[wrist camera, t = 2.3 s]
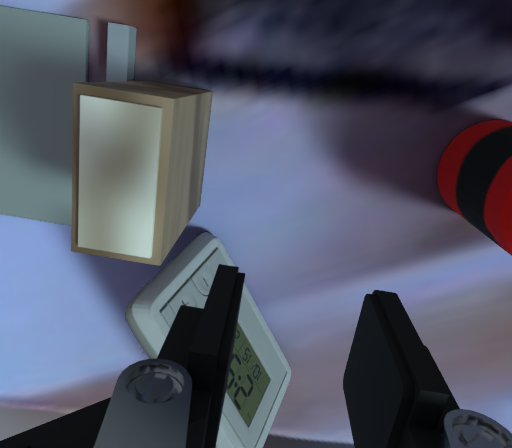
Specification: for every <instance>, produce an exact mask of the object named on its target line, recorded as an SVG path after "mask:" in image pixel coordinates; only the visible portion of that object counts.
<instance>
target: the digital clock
mask: <svg viewBox="0 0 512 448" xmlns="http://www.w3.org/2000/svg"><path fill="white" fill-rule="evenodd" d="M219 264H222V265H228V266H234V267H235V265H234V263H233V262H232V260H231V258H230V256H229V254H228V253H227V251H226V249H225V248H224V246H223V244H222V243H221V241H220V240H219V239H218V238H216V237H215V236H213V235H212V234H210V233H208V232H204V233H202V234H200V235H198V236H197V237H196V238H194V239H193V240H192V241H191V242H190V243H189V244H188V245H187V246H186V247H185V248H184V249H183V250H182V251H181V252H180V253H179V254H178V255H177V256H176V257H175V258H174V259H172V260H171V261H170V262H169V263H168V264H167V265H166V266H165V267H164V268H163V269H162V270H161V271H160V272H159V273H158V274H157V275H156V276H155V277H154V278H153V279H152V280H151V281H150V282H149V283H148V284H147V285H146V286H145V287H144V288H143V289H142V290H141V291H140V292H139V293H138V294H137V295H136V296H135V297H134V298H133V299H132V300H131V301H130V303H129V304H128V306H127V308H126V312H125V317H126V321H127V323H128V325H129V327H130V328H131V330H132V332H133V333H134V335H135V336H136V338H137V340H138V341H139V343H140V344H141V346H142V348H143V349H144V351H145V352H146V354H147V355H148V357H149V358H150V359H157V357H158V354H159V352H160V350H161V348H162V346H163V343H164V341H165V339H166V337H167V335H168V332H169V330H170V328H171V326H172V323H173V321H174V319H175V317H176V315H177V312H178V310H179V308H180V306H181V305H185V306H191V307H197V308H203V309H204V306H205V303H206V300H207V297H208V294H209V291H210V288H211V285H212V283H213V280H214V277H215V274H216V271H217V268H218V265H219ZM290 377H291V369H290V367H289V364H288V362H287V360H286V359H285V357H284V355H283V353H282V351H281V349H280V347H279V345H278V344H277V342H276V340H275V338H274V336H273V335H272V333H271V331H270V329H269V327H268V325H267V324H266V322H265V320H264V318H263V316H262V314H261V313H260V311H259V309H258V307H257V305H256V304H255V302H254V300H253V298H252V296H251V294H250V293H249V291H248V289H247V287H246V285H245V283H244V285H243V291H242V298H241V304H240V310H239V316H238V323H237V329H236V335H235V342H234V348H233V354H232V360H231V366H230V372H229V377H228V383H227V388H226V394H225V399H224V404H223V410H222V415H221V421H220V426H219V432H218V437H217V442H216V448H263V445H264V443H265V440H266V438H267V435H268V433H269V430H270V428H271V426H272V423H273V421H274V418H275V416H276V413H277V411H278V408H279V406H280V403H281V401H282V398H283V396H284V394H285V391H286V389H287V386H288V384H289V381H290Z"/></svg>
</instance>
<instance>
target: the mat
mask: <svg viewBox="0 0 512 448" xmlns="http://www.w3.org/2000/svg"><path fill="white" fill-rule="evenodd" d="M88 42H89V20H85V19H79V18H72V17H66V16H60V15H54V14H47V13H41V12H35V11H29V10H23V9H16V8H10V7H4V6H0V214H2V215H8V216H14V217H20V218H26V219H32V220H39V221H45V222H51V223H57V224H63V225H69V226H72V133H73V83H78V82H88Z"/></svg>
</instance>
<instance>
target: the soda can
mask: <svg viewBox="0 0 512 448" xmlns="http://www.w3.org/2000/svg"><path fill="white" fill-rule="evenodd" d="M437 180H438V187H439V190H440V194H441V195H442V197H443V199H444V201H445V202H446V203H447V204H448V205H449V206H450V208H452V209H453V210H454V211H455V212H457V213H458V214H459V215H461V216H462V217H463V218H464V219H466V220H467V221H468V222H469V223H471V224H472V225H473V226H475V227H476V228H477V229H478V230H480V231H481V232H482V233H484V234H485V235H486V236H487V237H489V238H490V239H491V240H492V241H494V242H495V243H496V244H498V245H499V246H500V247H501V248H503V249H504V250H505V251H506V252H508V253H509V254H510V255H512V122H511V121H506V120H490V121H484V122H480V123H478V124H475V125H473V126H471V127H469V128H467V129H466V130H464V131H462V132H461V133H460V134H459V135H458V136H456V137H455V138H454V139H453V140H452V141H451V143H450V144H449V145H448V146H447V148H446V150H445V151H444V153H443V155H442V157H441V160H440V163H439V166H438V173H437Z"/></svg>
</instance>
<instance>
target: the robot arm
mask: <svg viewBox="0 0 512 448" xmlns="http://www.w3.org/2000/svg"><path fill="white" fill-rule="evenodd" d="M244 279H245V273H239V272H238V267H234V266H228V265H222V264H219V265H218V268H217V271H216V274H215V277H214V280H213V283H212V285H211V288H210V291H209V294H208V297H207V300H206V303H205V306H204V309H203V308H197V307H191V306H185V305H181V306H180V308H179V310H178V312H177V315H176V317H175V319H174V321H173V323H172V326H171V328H170V330H169V332H168V335H167V337H166V339H165V341H164V343H163V346H162V348H161V350H160V352H159V354H158V357H157V359H147V360H142V361H138V362H136V363H134V364H132V365H130V366H128V367H127V368H126V369H125V370H124V371H122V373H121V375H120V376H119V378H118V380H117V383H116V385H115V388H114V391H113V394H112V397H110V398H108V399H105V400H103V401H100V402H98V403H95V404H93V405H90V406H88V407H85V408H83V409H80V410H77V411H75V412H72V413H70V414H67V415H65V416H62V417H60V418H57V419H55V420H52V421H50V422H47V423H45V424H42V425H40V426H37V427H35V428H32V429H30V430H27V431H25V432H22V433H20V434H17V435H14V436H12V437H9V438H7V439H4V440H2V441H0V448H216V442H217V437H218V432H219V426H220V421H221V415H222V410H223V404H224V399H225V394H226V388H227V383H228V377H229V372H230V366H231V360H232V354H233V348H234V342H235V335H236V329H237V323H238V316H239V310H240V304H241V298H242V291H243V285H244ZM343 389H344V394H345V399H346V404H347V410H348V415H349V420H350V425H351V430H352V436H353V441H354V446H355V448H512V434H511V433H510V432H509V431H508V430H507V429H506V428H505V427H503V426H502V425H501V424H499V423H498V422H496V421H495V420H493V419H491V418H489V417H487V416H485V415H483V414H480V413H478V412H475V411H471V410H464V409H460V408H459V406H458V405H457V403H456V401H455V399H454V397H453V395H452V393H451V391H450V389H449V388H448V386H447V384H446V382H445V380H444V378H443V376H442V374H441V372H440V371H439V369H438V367H437V365H436V363H435V361H434V359H433V357H432V356H431V354H430V352H429V350H428V348H427V347H426V346H424V345H423V343H422V341H421V339H420V337H419V336H418V334H417V332H416V330H415V328H414V326H413V324H412V322H411V320H410V318H409V316H408V314H407V313H406V311H405V309H404V307H403V305H402V303H401V301H400V299H399V297H398V295H397V294H396V293H392V292H386V291H380V290H374V291H373V293H372V294H366V296H365V298H364V301H363V305H362V309H361V313H360V316H359V320H358V324H357V328H356V331H355V335H354V339H353V343H352V346H351V350H350V354H349V358H348V361H347V365H346V369H345V373H344V378H343Z"/></svg>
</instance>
